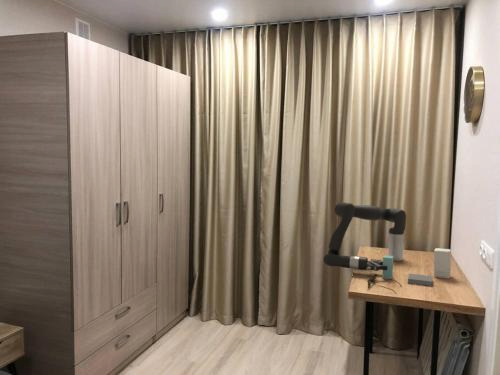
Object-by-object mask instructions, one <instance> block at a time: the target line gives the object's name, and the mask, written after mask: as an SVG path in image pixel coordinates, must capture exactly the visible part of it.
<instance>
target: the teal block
mask: <svg viewBox="0 0 500 375" xmlns="http://www.w3.org/2000/svg"><path fill="white" fill-rule="evenodd" d="M382 262H383V266H387V270H382V276H383V277H382V279H385V280H390V279H391V280H393V277H394V274H393V273H394V260H393V256H388V254H387V255H386V254H385V255H383V257H382ZM384 277H386V278H384ZM387 278H389V279H387Z"/></svg>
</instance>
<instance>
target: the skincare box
mask: <svg viewBox="0 0 500 375" xmlns="http://www.w3.org/2000/svg"><path fill="white" fill-rule="evenodd" d="M451 250H452V249H450V248H439V247H437V248H435V249H434V252H433V254H434V255H433V257H434V258H433V277H434V278H441V279H448V280H449V279H450V278H451V266H452V263H451V262H452V261H451V260H452V259H451V258H452V257H451V256H452V251H451Z"/></svg>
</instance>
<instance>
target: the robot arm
mask: <svg viewBox="0 0 500 375" xmlns="http://www.w3.org/2000/svg"><path fill="white" fill-rule="evenodd" d="M334 214H336V215H337V216H338V217H339V218H341V220H340V222H339V224H338V226H337V227H336V229H334V231H333V233H332V235H331V237H330V240H329V243H328V252H327V254H325V255H324V257H323V262H324V264H325V265H326V266H327V267H330V268H332V267H341V268H344V269H352V270H358V271H367V270H368V271H376V272H377V271H378V272H379V271H383V270H387V266H383V260H381V259H370V260H368V257H366V256H356V255H354V256H353V255H352V256H351V255H340V250H341V247H342V244H343V241H344V238H345V236H346V232H347V231H348V228H349V227H350V224H351V222H352V220H353V218H356V219H360V220H366V221H372V222H373V221H374V222H375V221H379V220H382V221H388V222H389V223H394V225H393V227H390V228H389V229H388V252H387V256H393V262H395V261H398V262H401V261H403V260H404V239H405V237H404V236H405V230H406V223H407V214H406V211H405V210H403V209H399V208H381V207H380V206H376V205H365V204H364V205H363V204H360V205H355V204H353V203H352V202H343V201H342V202H339V203H337V204H335V206H334Z"/></svg>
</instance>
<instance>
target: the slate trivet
mask: <svg viewBox="0 0 500 375" xmlns="http://www.w3.org/2000/svg"><path fill="white" fill-rule="evenodd" d="M407 284H411V285H418V286H419V285H420V286H427V287H433V275H426V274H425V275H424V274H416V273H408V278H407Z"/></svg>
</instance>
